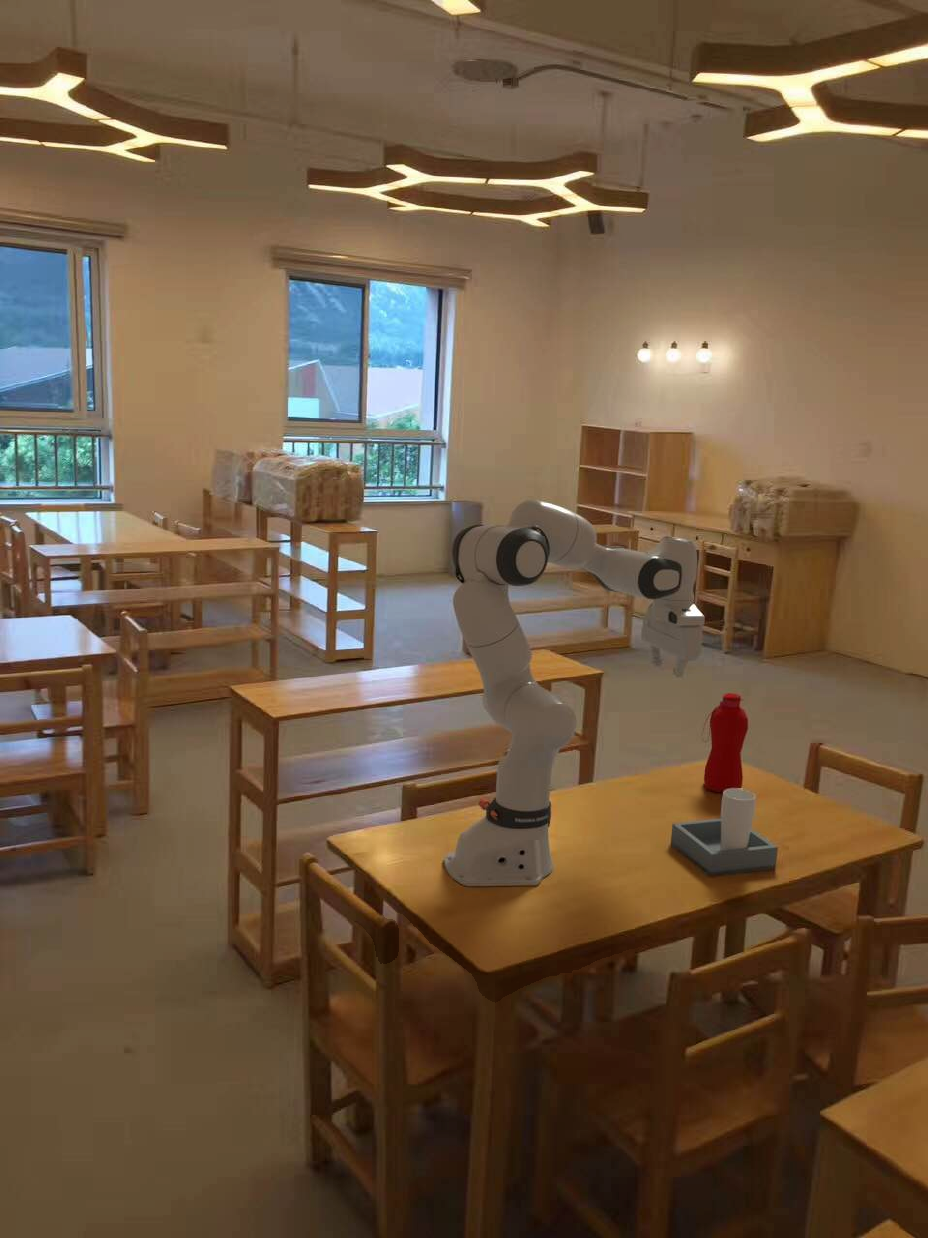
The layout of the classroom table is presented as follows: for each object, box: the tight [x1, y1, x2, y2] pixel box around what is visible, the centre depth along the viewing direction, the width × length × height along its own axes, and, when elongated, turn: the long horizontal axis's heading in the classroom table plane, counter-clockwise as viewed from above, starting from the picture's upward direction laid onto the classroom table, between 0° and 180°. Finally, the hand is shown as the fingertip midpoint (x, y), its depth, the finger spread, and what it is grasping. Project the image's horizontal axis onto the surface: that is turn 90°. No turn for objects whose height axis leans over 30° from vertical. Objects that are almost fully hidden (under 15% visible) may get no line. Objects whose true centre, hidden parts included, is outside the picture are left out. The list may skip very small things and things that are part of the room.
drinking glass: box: [720, 788, 757, 851], centre depth 212 cm, size 7×7×15 cm
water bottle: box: [701, 692, 749, 794], centre depth 256 cm, size 9×11×25 cm
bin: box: [670, 818, 779, 878], centre depth 217 cm, size 16×16×5 cm
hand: (666, 670), depth 225 cm, fingers open, 8 cm apart
